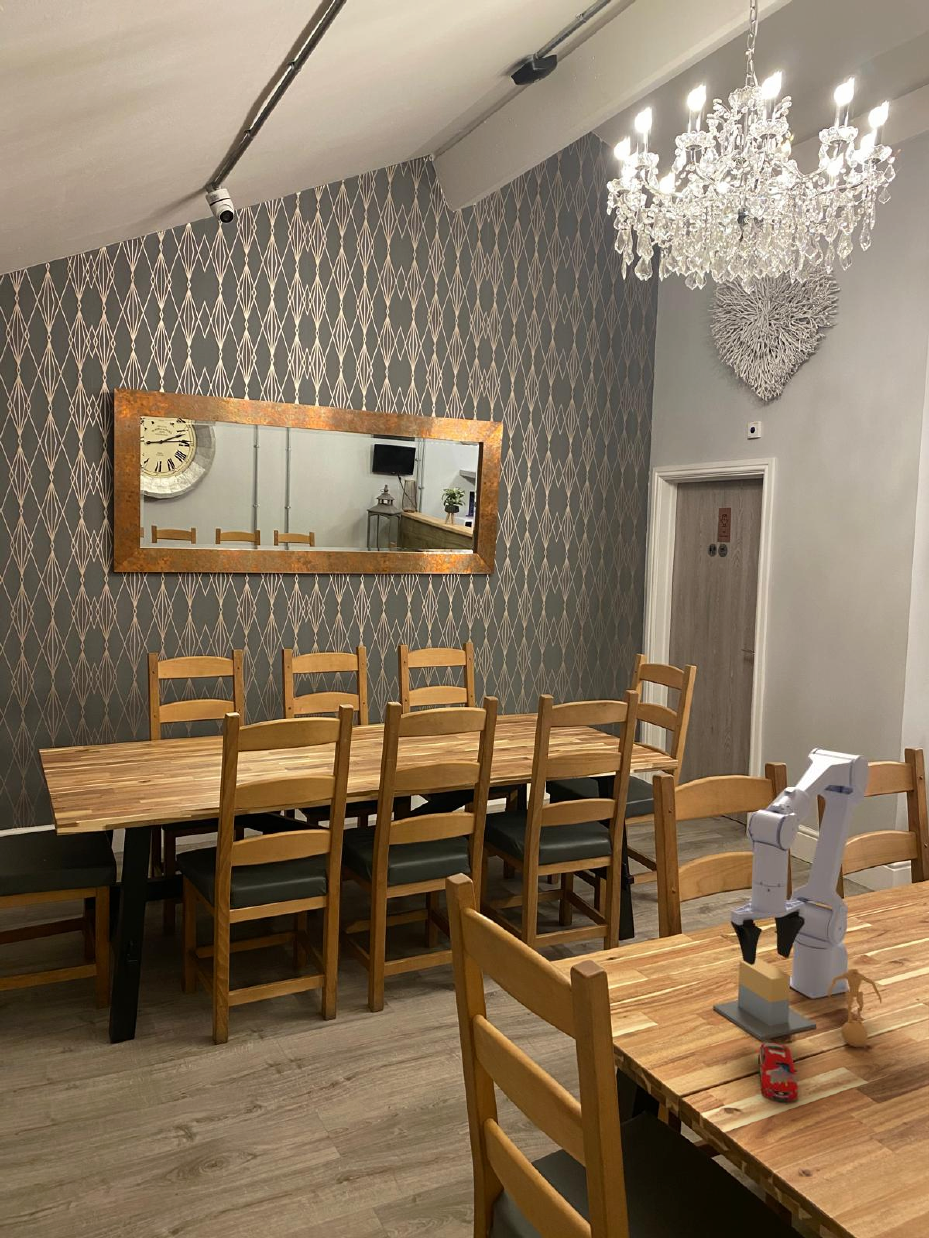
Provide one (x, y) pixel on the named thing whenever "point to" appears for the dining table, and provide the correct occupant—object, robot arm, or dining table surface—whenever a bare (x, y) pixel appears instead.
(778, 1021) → the slate brick
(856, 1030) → the figurine
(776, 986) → the ochre brick
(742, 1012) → the mat
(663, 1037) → the dining table surface
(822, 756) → the robot arm
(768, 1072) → the race car
